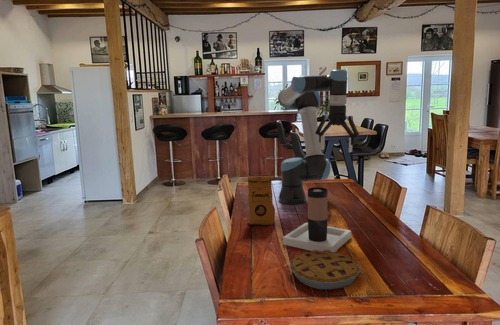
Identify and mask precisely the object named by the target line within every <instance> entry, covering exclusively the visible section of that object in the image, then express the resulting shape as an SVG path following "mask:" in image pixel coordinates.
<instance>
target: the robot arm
mask: <svg viewBox="0 0 500 325" xmlns="http://www.w3.org/2000/svg"><path fill="white" fill-rule="evenodd" d="M290 82H291V83H290V85H289V86H288V87H286V88H283V89H281V91H279V93H278V96H277V100H278V103H279V105H280V106H282V107H283V108H285V109H287V110H297V114H298V115H300V118H301V126H302V132H303V141H304V148H305V154H306V155H305V156H304V157H303V158H302V157H291V158H287V159H284V160H283V161H282V162H281V164H280V165H281V166H280V168H281V169H280V172H281V189H280V192H279V196H278V203H282V204H287V205H300V204H304V203H306V201H307V195H306V192H305V189H304V182H312V181H314V182H315V181H319V182H320V181H325V180H327V179H328V178H329V177H330V176H329V175H330V173H331V162H330V159H329V158H326V155H325V154H324V153H323V152H322V150H323V151H324V150H325V140H326V138H325V136H326V135H325V133H326V132H327V131H328V130H329V129H330V128H331V126H341V127H342V128H343V129H344V130H345V131H346V133H347V134H348V136H349V138H348V153H352V152H353V146H354V145H355V142H356V141H355V139H356V138H357V137H360V134H359V131H358V129H357V127H356V124H355V122H354V116H353V115H348V116H347V105H346V104H347V96H348V95H347V91H348V90H347V88H348V71H347V70H346V69H332V70H331V71H330V74H320V75H317V74H314V75H302V74H301V75H294V76H292V78H291V81H290ZM319 92H329V102H328V103H329V107H328V115H327V114H322V116H321V121H320V123H318V118H317V112H318V110H319V108H320V106H321V95H320V93H319ZM327 120H329V121H328V122H327ZM346 121H348V123H347V122H346ZM326 122H327V124H326ZM318 124H319V125H318ZM325 124H326V125H325ZM348 124H349V125H350V127H349V126H348Z"/></svg>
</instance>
